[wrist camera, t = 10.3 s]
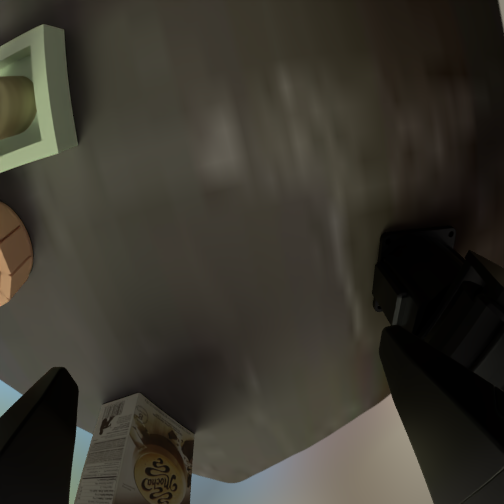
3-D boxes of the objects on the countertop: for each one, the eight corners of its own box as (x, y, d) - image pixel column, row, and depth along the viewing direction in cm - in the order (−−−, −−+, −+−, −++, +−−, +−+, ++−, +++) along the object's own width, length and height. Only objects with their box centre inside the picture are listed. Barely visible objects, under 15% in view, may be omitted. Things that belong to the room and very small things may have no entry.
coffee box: (197, 433, 31) (191, 567, 17) (155, 444, 32) (141, 562, 18) (139, 389, 27) (109, 546, 13) (99, 404, 28) (64, 537, 14)
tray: (64, 29, 13) (43, 23, 11) (78, 145, 17) (58, 153, 15) (-21, 73, 13) (-43, 75, 11) (-6, 173, 17) (-27, 183, 15)
